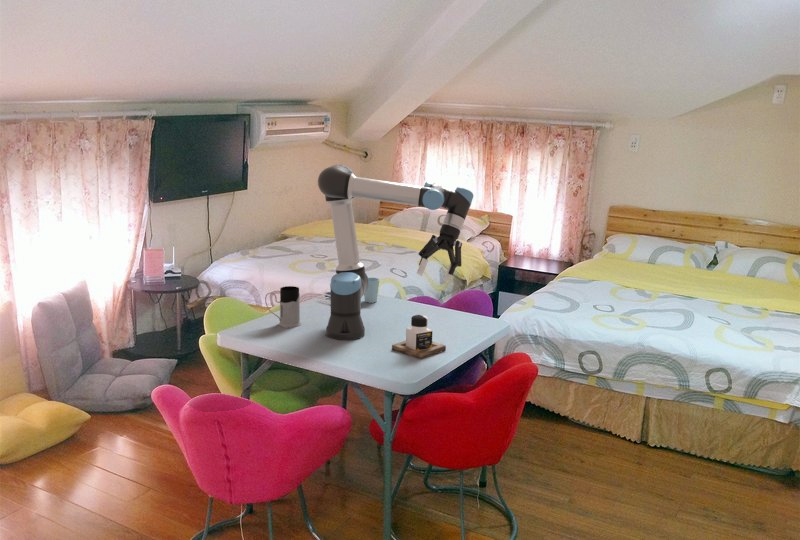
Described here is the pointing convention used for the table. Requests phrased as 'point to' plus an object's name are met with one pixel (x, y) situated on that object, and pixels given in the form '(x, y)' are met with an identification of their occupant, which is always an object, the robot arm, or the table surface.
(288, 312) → the black and white mug
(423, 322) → the medicine bottle
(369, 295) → the cup
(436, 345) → the coaster tray
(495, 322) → the table surface
